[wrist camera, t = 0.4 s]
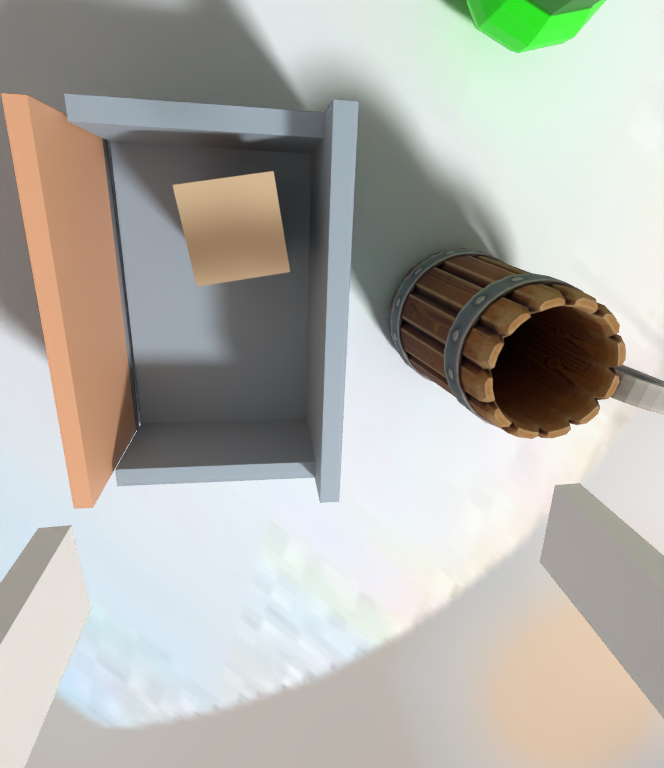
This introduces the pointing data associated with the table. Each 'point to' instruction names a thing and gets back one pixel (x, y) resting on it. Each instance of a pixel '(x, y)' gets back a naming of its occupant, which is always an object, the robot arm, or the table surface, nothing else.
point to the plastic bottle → (531, 21)
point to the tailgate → (76, 287)
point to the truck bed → (233, 292)
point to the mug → (514, 344)
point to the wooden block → (232, 228)
